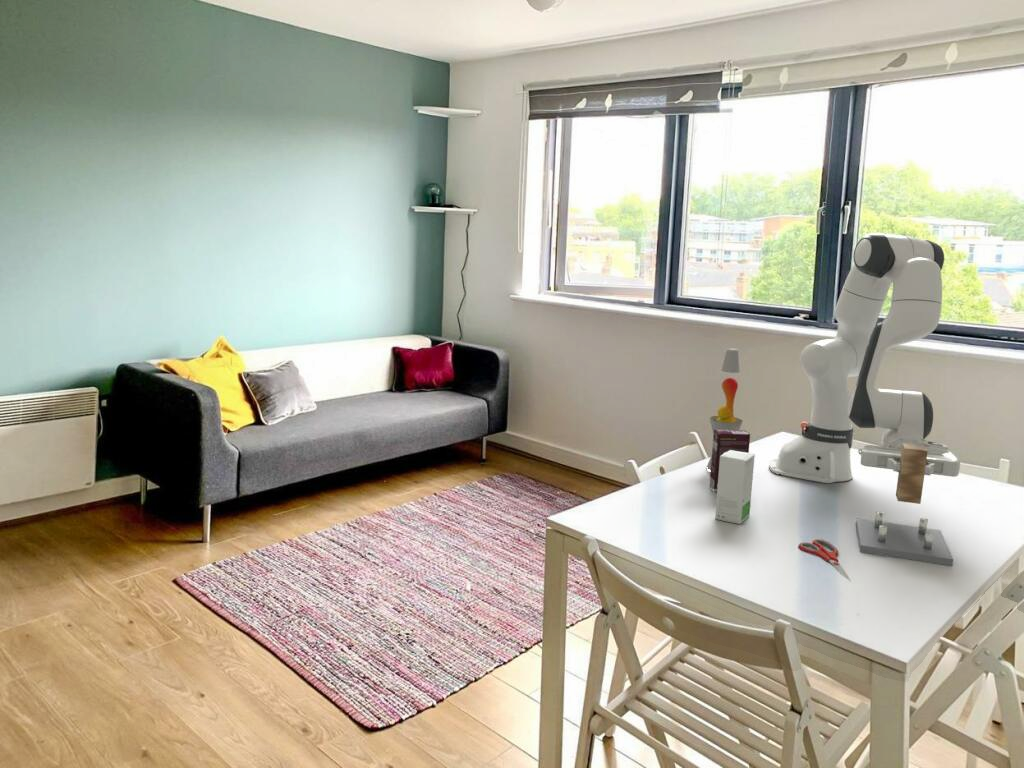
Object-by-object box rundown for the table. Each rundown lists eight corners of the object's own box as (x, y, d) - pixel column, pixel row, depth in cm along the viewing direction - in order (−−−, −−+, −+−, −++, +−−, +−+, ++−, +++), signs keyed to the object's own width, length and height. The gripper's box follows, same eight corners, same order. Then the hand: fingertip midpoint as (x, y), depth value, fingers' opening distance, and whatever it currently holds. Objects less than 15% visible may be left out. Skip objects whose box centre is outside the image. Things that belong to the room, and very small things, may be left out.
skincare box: (740, 525, 191) (746, 461, 188) (712, 519, 195) (718, 455, 192) (750, 515, 198) (756, 453, 195) (723, 509, 202) (729, 448, 199)
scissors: (850, 587, 161) (851, 580, 161) (792, 546, 181) (793, 539, 181) (884, 585, 163) (885, 578, 163) (823, 544, 183) (824, 538, 183)
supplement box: (740, 487, 220) (745, 429, 216) (745, 493, 215) (751, 434, 212) (708, 486, 219) (713, 428, 216) (712, 492, 215) (718, 433, 211)
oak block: (897, 501, 180) (904, 448, 178) (895, 494, 184) (902, 443, 182) (920, 503, 179) (927, 450, 177) (917, 497, 183) (924, 445, 181)
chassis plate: (860, 551, 178) (860, 545, 178) (855, 524, 195) (856, 518, 195) (952, 566, 173) (953, 559, 172) (939, 536, 189) (940, 530, 189)
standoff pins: (877, 542, 180) (879, 527, 180) (873, 525, 190) (875, 511, 190) (931, 550, 177) (934, 534, 176) (925, 533, 187) (927, 518, 186)
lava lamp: (715, 463, 240) (726, 345, 233) (743, 471, 234) (755, 349, 227) (699, 469, 234) (709, 348, 227) (727, 477, 228) (739, 352, 221)
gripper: (859, 435, 195) (862, 450, 182) (955, 446, 189) (966, 461, 176) (856, 461, 196) (859, 477, 183) (951, 472, 190) (961, 490, 177)
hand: (912, 469), depth 180 cm, fingers closed on oak block, 4 cm apart
